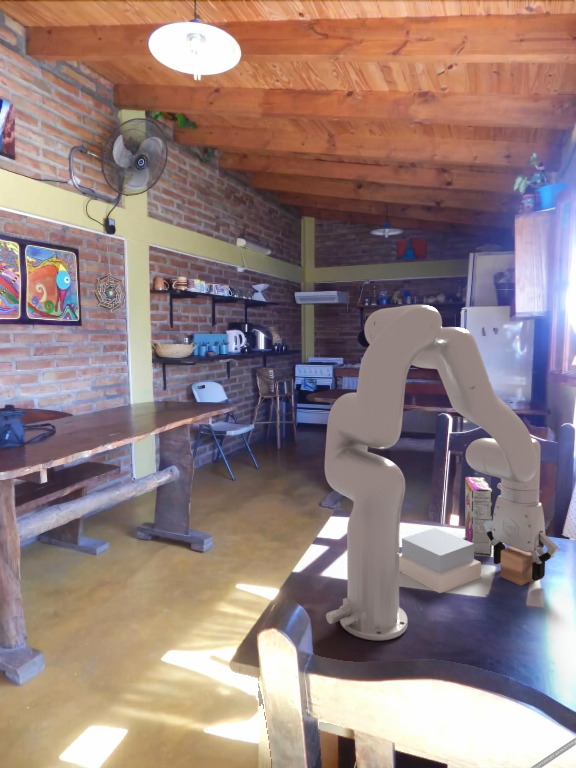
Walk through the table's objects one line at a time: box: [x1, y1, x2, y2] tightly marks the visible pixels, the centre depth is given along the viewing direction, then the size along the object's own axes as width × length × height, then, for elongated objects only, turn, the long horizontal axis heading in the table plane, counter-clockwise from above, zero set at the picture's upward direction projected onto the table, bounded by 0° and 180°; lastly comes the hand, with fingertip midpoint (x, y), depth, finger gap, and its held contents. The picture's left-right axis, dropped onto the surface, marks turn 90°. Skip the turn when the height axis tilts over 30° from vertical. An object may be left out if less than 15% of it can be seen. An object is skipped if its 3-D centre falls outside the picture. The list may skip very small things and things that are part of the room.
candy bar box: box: [464, 476, 493, 556], centre depth 124 cm, size 11×5×16 cm, turn 168°
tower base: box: [399, 552, 482, 594], centre depth 110 cm, size 13×13×4 cm
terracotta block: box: [499, 546, 535, 586], centre depth 107 cm, size 5×5×6 cm
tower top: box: [401, 527, 475, 574], centre depth 110 cm, size 11×11×4 cm
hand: (517, 570), depth 108 cm, fingers open, 8 cm apart
